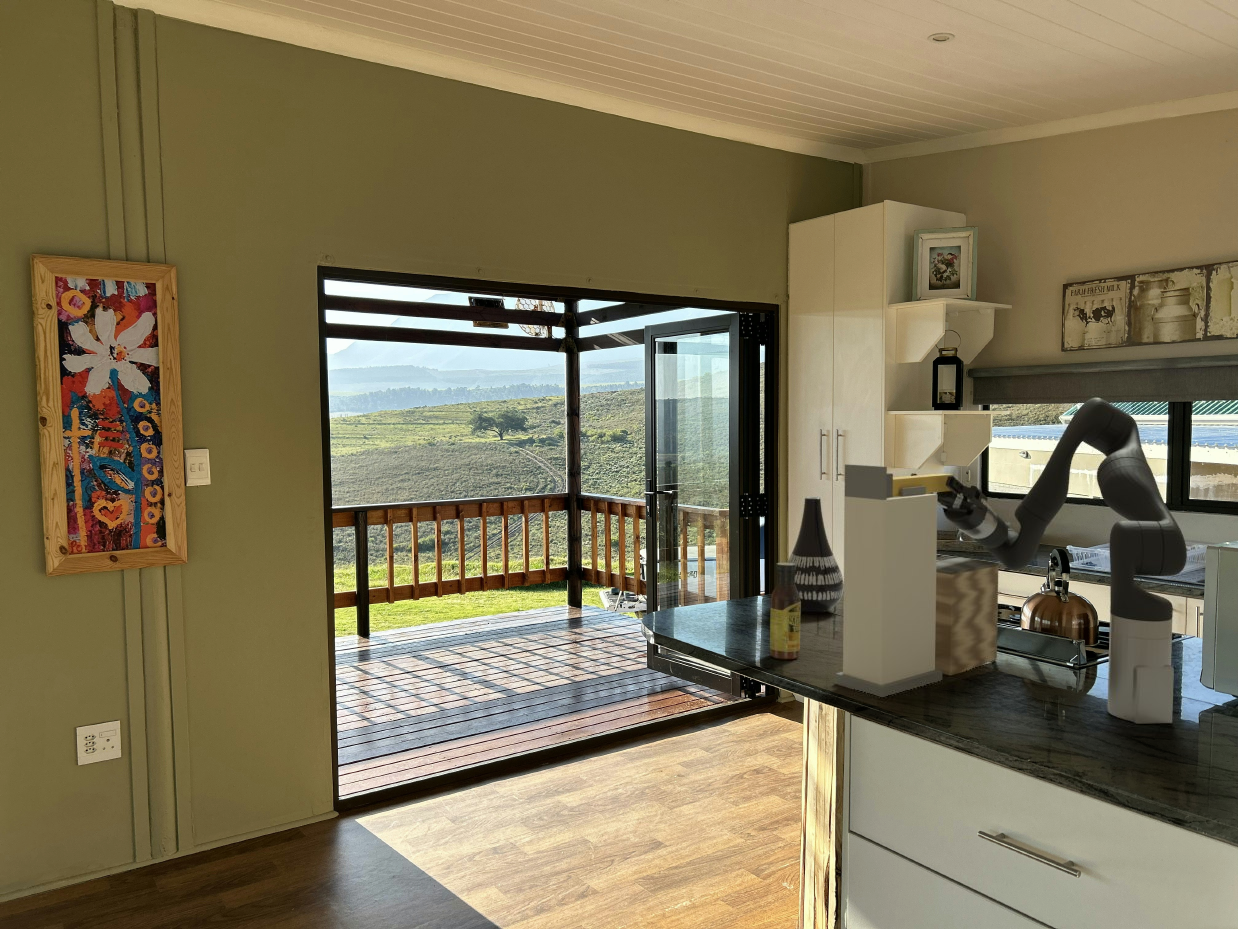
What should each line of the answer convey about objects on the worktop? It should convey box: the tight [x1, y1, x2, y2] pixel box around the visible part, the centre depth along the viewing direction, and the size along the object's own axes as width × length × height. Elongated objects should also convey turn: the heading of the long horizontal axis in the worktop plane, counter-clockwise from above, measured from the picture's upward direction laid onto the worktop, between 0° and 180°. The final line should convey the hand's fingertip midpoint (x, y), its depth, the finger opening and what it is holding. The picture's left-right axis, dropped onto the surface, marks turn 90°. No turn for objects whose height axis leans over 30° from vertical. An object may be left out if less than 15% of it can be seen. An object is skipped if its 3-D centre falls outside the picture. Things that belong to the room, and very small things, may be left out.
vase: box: [786, 496, 844, 615], centre depth 237 cm, size 16×16×30 cm
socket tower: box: [834, 463, 943, 698], centre depth 176 cm, size 18×11×42 cm, turn 126°
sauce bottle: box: [769, 562, 801, 660], centre depth 195 cm, size 6×6×20 cm
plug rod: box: [886, 472, 955, 498], centre depth 178 cm, size 24×4×4 cm, turn 126°
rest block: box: [935, 557, 1000, 676], centre depth 189 cm, size 16×9×21 cm, turn 126°
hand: (929, 478), depth 182 cm, fingers open, 8 cm apart
